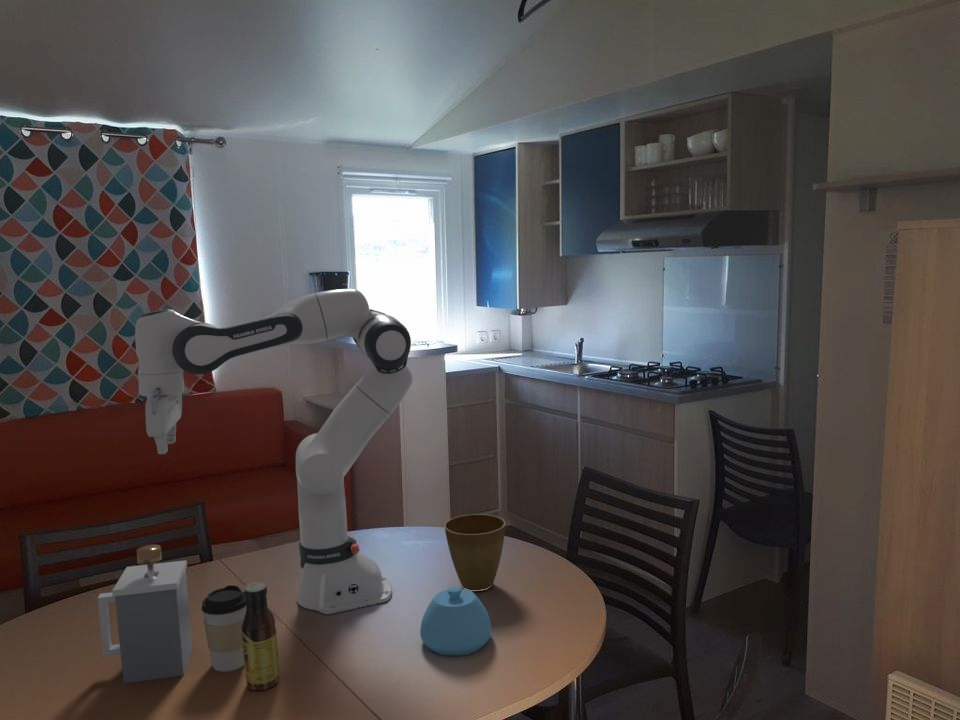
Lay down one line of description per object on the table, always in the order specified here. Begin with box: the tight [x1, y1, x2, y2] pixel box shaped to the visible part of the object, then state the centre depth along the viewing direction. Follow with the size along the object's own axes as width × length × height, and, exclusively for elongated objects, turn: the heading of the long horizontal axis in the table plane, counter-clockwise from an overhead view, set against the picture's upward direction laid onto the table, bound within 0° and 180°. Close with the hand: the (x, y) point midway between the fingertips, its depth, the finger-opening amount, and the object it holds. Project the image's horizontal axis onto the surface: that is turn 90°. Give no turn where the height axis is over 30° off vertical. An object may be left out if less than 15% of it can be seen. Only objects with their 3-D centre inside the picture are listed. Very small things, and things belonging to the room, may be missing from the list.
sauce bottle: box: [241, 581, 280, 691], centre depth 142 cm, size 7×6×20 cm
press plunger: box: [136, 544, 163, 578], centre depth 149 cm, size 4×4×21 cm
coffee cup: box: [201, 584, 247, 673], centre depth 150 cm, size 9×9×15 cm
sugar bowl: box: [419, 586, 493, 656], centre depth 156 cm, size 15×15×12 cm
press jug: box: [97, 560, 193, 685], centre depth 149 cm, size 16×12×19 cm
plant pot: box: [443, 513, 506, 590], centre depth 182 cm, size 15×15×16 cm
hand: (167, 448), depth 162 cm, fingers open, 8 cm apart
